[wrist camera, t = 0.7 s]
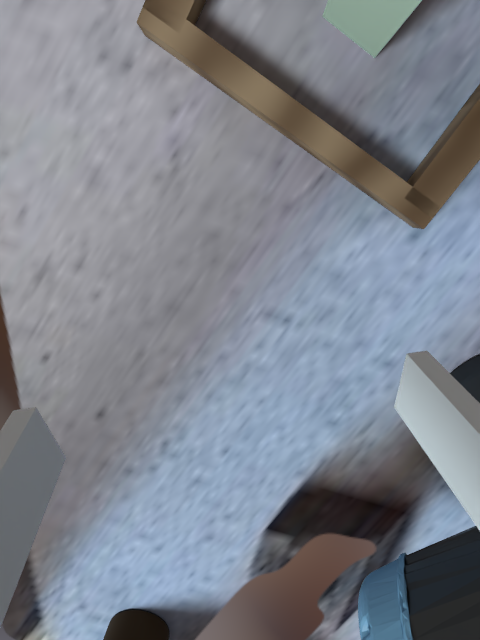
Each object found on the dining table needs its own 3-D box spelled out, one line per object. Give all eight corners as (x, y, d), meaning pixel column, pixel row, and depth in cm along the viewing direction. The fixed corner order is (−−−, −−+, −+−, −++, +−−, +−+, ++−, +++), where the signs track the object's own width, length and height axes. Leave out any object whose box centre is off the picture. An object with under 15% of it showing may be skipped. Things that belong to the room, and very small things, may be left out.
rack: (518, 92, 26) (900, -69, 10) (413, 227, 29) (581, 251, 14) (224, -155, 22) (156, -976, 7) (145, 35, 25) (-16, -213, 10)
